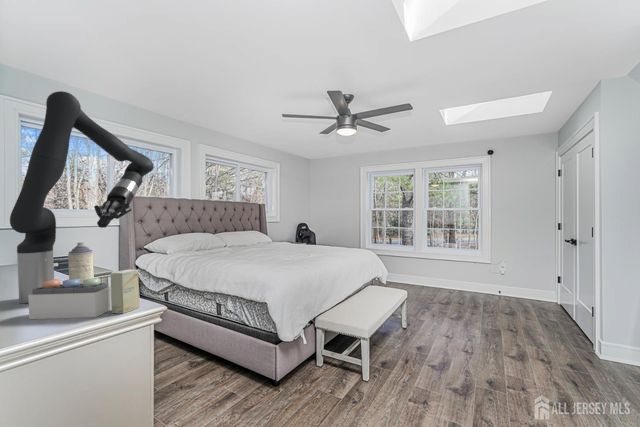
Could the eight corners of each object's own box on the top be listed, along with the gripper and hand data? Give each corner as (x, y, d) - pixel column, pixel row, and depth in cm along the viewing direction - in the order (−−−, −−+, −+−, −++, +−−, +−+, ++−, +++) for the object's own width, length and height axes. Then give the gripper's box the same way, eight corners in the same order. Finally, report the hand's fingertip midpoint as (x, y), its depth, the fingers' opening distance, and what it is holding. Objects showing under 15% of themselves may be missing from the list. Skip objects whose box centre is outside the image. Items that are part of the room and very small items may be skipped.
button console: (29, 319, 84) (28, 290, 84) (51, 310, 91) (50, 284, 91) (95, 317, 84) (94, 288, 84) (112, 308, 91) (111, 282, 91)
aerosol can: (98, 294, 108) (96, 241, 108) (85, 300, 102) (83, 243, 101) (79, 295, 108) (77, 241, 108) (64, 301, 101) (62, 244, 101)
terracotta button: (38, 289, 86) (38, 282, 86) (50, 285, 90) (50, 279, 90) (52, 289, 86) (51, 282, 86) (63, 285, 90) (63, 279, 90)
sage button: (79, 288, 86) (79, 281, 86) (90, 284, 90) (89, 278, 90) (93, 287, 86) (93, 281, 86) (103, 284, 90) (102, 277, 90)
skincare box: (123, 314, 86) (121, 273, 86) (110, 313, 87) (109, 273, 87) (140, 307, 93) (139, 269, 92) (128, 306, 93) (127, 268, 93)
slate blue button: (59, 288, 86) (58, 282, 86) (70, 285, 90) (70, 278, 90) (72, 288, 86) (72, 281, 86) (83, 284, 90) (83, 278, 90)
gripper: (100, 186, 110) (75, 219, 98) (136, 185, 110) (114, 218, 98) (111, 200, 116) (88, 233, 104) (144, 199, 116) (125, 232, 104)
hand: (101, 226), depth 101 cm, fingers closed
